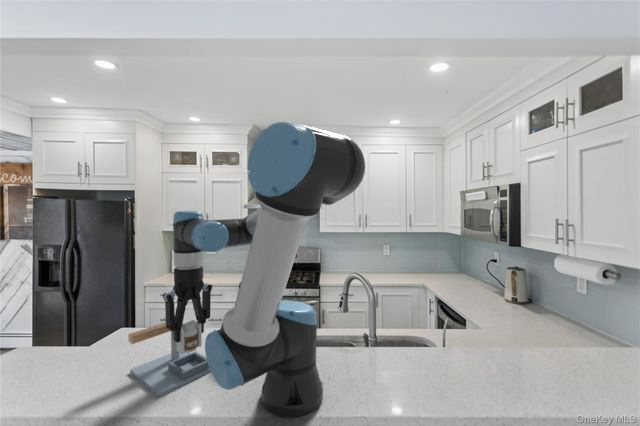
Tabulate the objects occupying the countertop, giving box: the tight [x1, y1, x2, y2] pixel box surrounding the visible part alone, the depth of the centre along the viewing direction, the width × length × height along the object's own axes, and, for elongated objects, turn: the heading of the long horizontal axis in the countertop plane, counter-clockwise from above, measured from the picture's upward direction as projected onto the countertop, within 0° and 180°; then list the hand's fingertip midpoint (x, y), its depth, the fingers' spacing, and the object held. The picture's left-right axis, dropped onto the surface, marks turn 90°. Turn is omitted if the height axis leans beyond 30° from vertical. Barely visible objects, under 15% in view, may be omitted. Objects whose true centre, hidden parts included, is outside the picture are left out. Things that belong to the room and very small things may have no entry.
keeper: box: [128, 322, 171, 345], centre depth 86 cm, size 14×4×2 cm, turn 143°
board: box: [130, 331, 211, 398], centre depth 85 cm, size 17×15×10 cm
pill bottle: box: [182, 319, 199, 353], centre depth 85 cm, size 4×4×8 cm
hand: (189, 348), depth 85 cm, fingers closed on pill bottle, 4 cm apart
